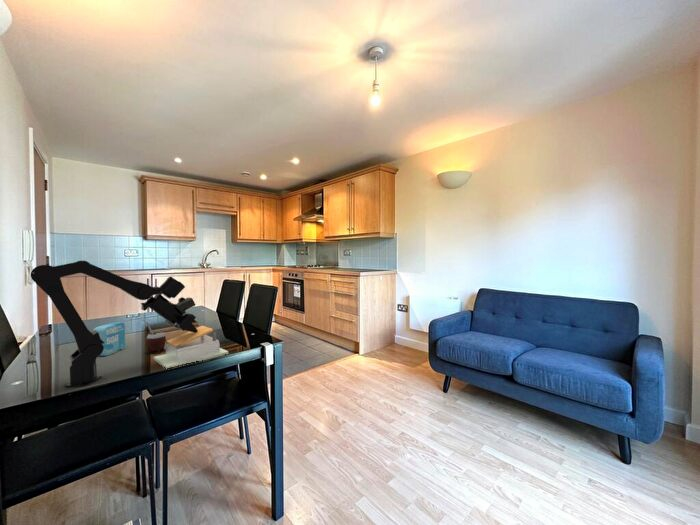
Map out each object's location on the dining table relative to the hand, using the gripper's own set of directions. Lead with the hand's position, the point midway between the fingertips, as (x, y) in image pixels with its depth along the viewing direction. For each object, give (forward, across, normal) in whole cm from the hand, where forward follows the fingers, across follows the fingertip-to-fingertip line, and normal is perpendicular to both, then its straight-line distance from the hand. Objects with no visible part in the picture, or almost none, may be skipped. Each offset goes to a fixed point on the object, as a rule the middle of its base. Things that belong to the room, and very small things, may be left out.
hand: (196, 331), depth 119 cm
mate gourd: (0, +19, +14) cm, 24 cm away
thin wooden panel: (0, 0, +3) cm, 3 cm away
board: (+5, 0, +8) cm, 10 cm away
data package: (-9, +35, +23) cm, 43 cm away
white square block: (+5, 0, +7) cm, 9 cm away
